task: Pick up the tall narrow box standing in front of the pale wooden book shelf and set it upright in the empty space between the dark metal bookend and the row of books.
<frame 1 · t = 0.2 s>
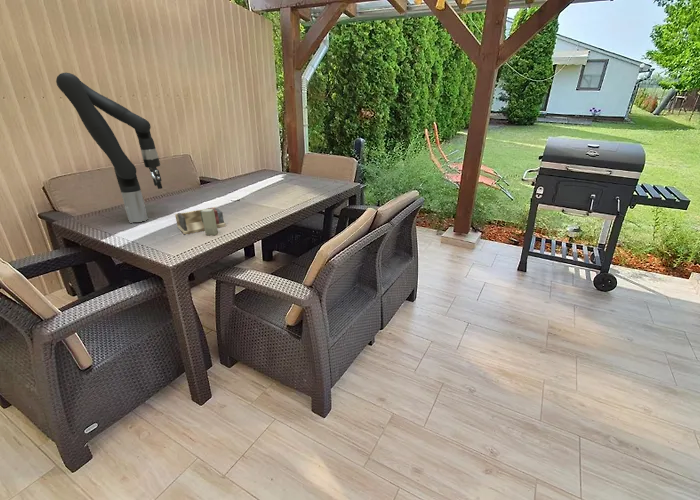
hand: (158, 187, 194), 17 cm above the table, tool pointing down, fingers open, 8 cm apart
shelf: (201, 227, 186), on the table
box: (211, 234, 177), on the table
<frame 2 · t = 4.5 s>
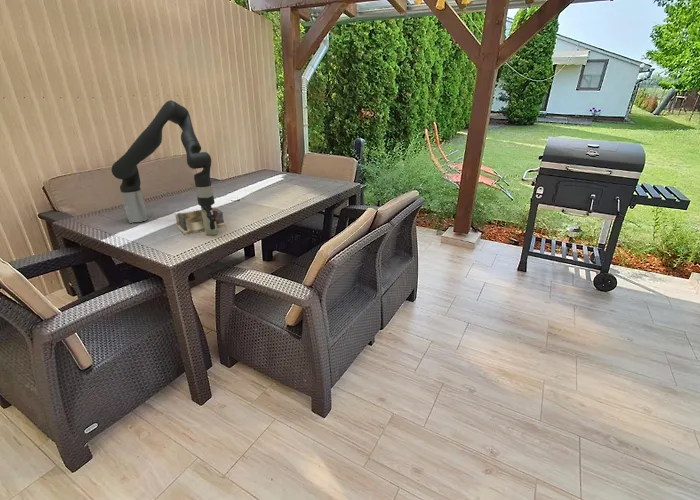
hand: (210, 227, 175), 4 cm above the table, tool pointing down, fingers closed on box, 6 cm apart
box: (211, 234, 177), on the table, touching gripper
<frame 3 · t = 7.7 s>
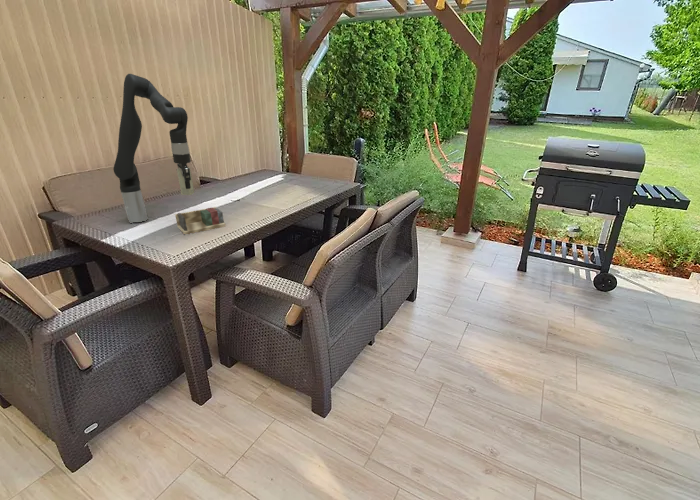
hand: (186, 186, 172), 23 cm above the table, tool pointing down, fingers closed on box, 6 cm apart
box: (187, 194, 174), point 19 cm above the table, touching gripper
when the fingers open (6 cm above the table, at t = 11.1 s): box stays where it is, resting on shelf.
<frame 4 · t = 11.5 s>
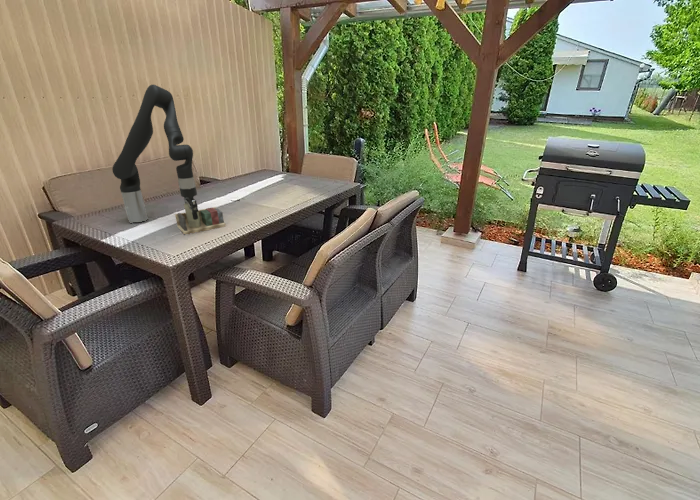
hand: (193, 217, 180), 7 cm above the table, tool pointing down, fingers open, 8 cm apart
box: (195, 226, 183), point 1 cm above the table, touching shelf
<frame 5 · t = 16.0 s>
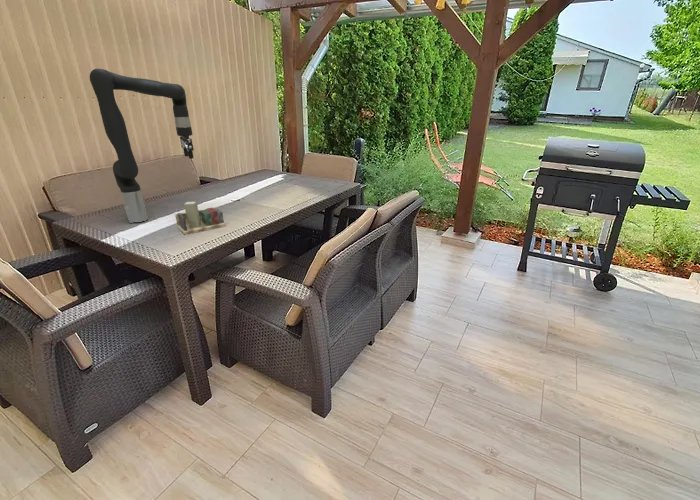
hand: (189, 157, 190), 33 cm above the table, tool pointing down, fingers open, 8 cm apart
nothing on the table moved.
at the end: box inside the target area on the shelf (0.4 cm from its centre), point 1.3 cm above the shelf's base; box tilted 0°; the gripper is holding nothing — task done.
